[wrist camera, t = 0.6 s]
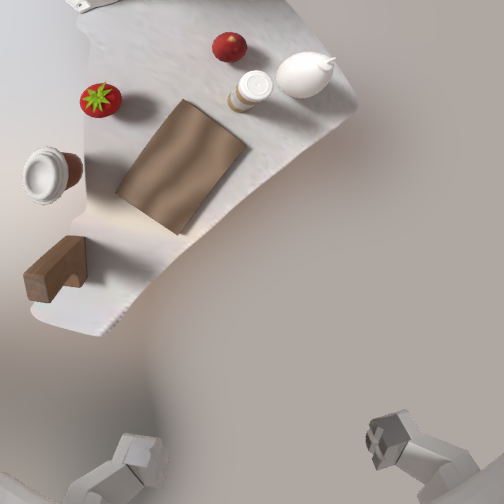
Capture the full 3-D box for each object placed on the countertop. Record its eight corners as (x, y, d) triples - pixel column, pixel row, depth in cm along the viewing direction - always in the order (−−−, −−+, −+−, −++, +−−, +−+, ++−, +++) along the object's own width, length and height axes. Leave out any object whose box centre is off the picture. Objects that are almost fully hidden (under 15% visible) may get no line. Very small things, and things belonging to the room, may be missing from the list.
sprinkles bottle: (249, 88, 42) (271, 68, 30) (254, 111, 44) (277, 98, 32) (224, 91, 42) (238, 71, 30) (229, 115, 44) (243, 102, 31)
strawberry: (96, 88, 36) (77, 75, 27) (133, 92, 38) (120, 79, 29) (87, 118, 37) (65, 112, 28) (123, 123, 40) (107, 117, 31)
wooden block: (88, 278, 48) (56, 329, 32) (69, 276, 47) (34, 325, 30) (85, 236, 45) (45, 276, 29) (66, 234, 44) (21, 273, 27)
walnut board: (117, 191, 44) (115, 192, 42) (183, 100, 41) (183, 98, 39) (178, 233, 49) (177, 235, 48) (244, 145, 46) (246, 145, 45)
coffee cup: (72, 136, 38) (42, 134, 27) (98, 171, 42) (72, 178, 31) (42, 169, 38) (9, 177, 27) (66, 203, 42) (37, 219, 31)
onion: (245, 45, 39) (256, 29, 32) (237, 70, 41) (247, 57, 33) (215, 38, 37) (220, 20, 30) (206, 63, 39) (210, 48, 32)
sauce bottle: (293, 110, 45) (343, 95, 29) (260, 85, 43) (297, 56, 26) (314, 82, 44) (368, 60, 28) (283, 58, 41) (326, 23, 25)
